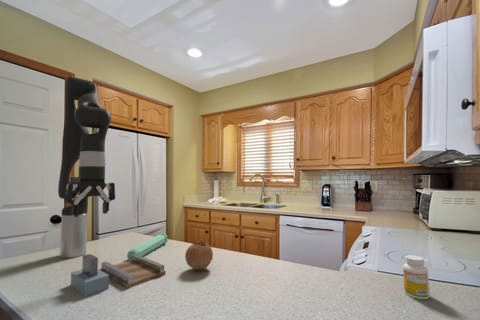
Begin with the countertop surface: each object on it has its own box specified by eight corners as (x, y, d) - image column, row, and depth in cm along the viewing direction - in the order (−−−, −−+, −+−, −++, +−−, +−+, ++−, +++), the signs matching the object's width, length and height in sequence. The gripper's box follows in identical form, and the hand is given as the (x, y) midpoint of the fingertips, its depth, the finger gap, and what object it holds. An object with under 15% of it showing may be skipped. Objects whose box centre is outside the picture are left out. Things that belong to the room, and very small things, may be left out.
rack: (99, 271, 84) (100, 263, 84) (136, 261, 93) (136, 253, 94) (126, 288, 71) (126, 277, 71) (165, 274, 81) (165, 264, 81)
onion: (217, 266, 87) (217, 238, 88) (205, 276, 78) (204, 245, 79) (194, 263, 90) (194, 236, 91) (179, 273, 81) (179, 243, 82)
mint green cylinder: (134, 246, 94) (165, 230, 118) (121, 251, 94) (155, 235, 119) (139, 260, 93) (169, 242, 118) (127, 266, 94) (159, 246, 118)
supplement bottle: (410, 288, 68) (407, 253, 69) (433, 296, 63) (430, 258, 64) (400, 293, 65) (398, 256, 66) (424, 302, 60) (421, 262, 61)
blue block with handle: (70, 285, 74) (71, 255, 74) (92, 279, 78) (93, 250, 79) (85, 297, 66) (86, 263, 67) (108, 289, 71) (109, 257, 71)
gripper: (109, 167, 88) (108, 211, 87) (63, 165, 77) (61, 217, 76) (119, 165, 84) (118, 213, 82) (70, 164, 73) (69, 219, 71)
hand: (90, 215), depth 79 cm, fingers open, 8 cm apart
